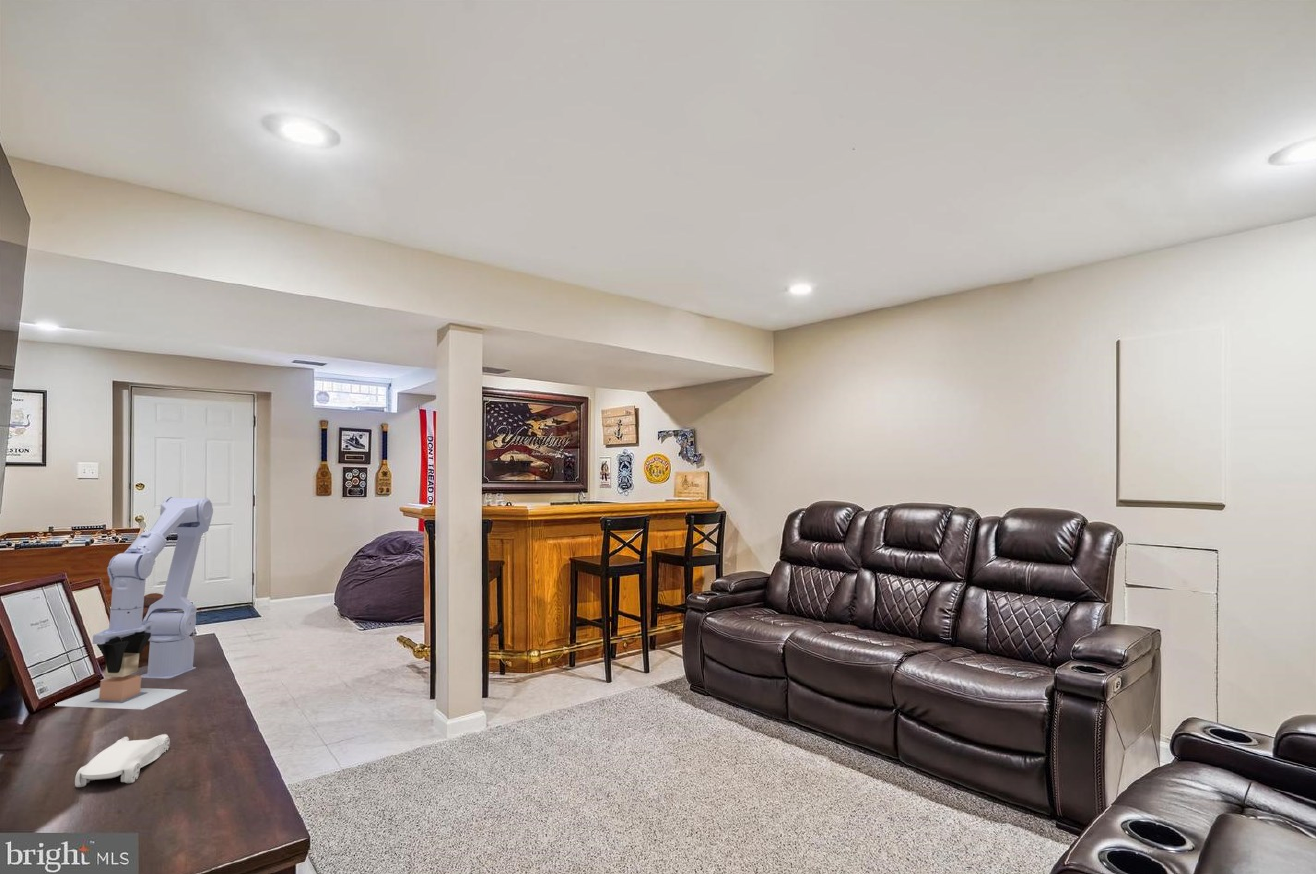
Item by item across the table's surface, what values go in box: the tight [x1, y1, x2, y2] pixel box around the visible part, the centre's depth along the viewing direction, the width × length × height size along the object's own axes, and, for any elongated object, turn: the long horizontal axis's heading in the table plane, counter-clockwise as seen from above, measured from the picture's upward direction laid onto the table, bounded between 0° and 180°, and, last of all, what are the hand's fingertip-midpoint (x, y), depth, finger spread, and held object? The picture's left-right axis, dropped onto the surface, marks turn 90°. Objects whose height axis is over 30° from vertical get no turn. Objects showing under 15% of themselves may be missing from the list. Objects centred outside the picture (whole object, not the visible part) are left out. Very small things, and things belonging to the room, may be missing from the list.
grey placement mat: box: [54, 687, 188, 710], centre depth 146 cm, size 13×20×1 cm, turn 89°
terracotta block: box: [99, 674, 142, 701], centre depth 146 cm, size 5×5×4 cm
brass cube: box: [104, 653, 139, 677], centre depth 147 cm, size 4×4×4 cm
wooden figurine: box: [138, 592, 167, 669], centre depth 175 cm, size 12×6×18 cm, turn 36°
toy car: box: [74, 733, 170, 788], centre depth 114 cm, size 18×8×4 cm, turn 17°
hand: (121, 669), depth 147 cm, fingers closed on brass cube, 4 cm apart
